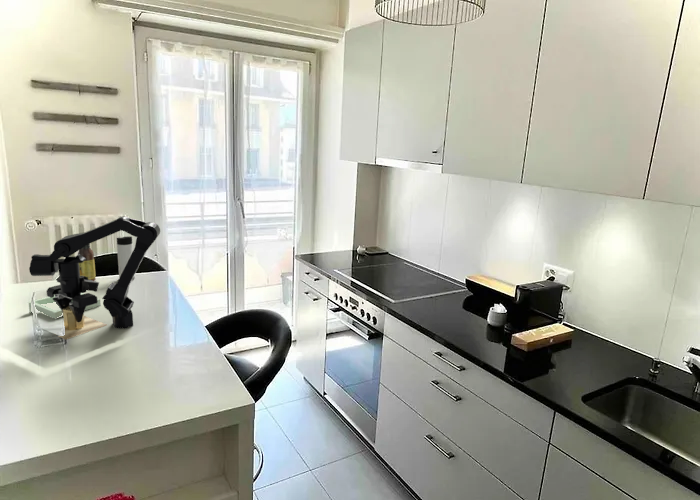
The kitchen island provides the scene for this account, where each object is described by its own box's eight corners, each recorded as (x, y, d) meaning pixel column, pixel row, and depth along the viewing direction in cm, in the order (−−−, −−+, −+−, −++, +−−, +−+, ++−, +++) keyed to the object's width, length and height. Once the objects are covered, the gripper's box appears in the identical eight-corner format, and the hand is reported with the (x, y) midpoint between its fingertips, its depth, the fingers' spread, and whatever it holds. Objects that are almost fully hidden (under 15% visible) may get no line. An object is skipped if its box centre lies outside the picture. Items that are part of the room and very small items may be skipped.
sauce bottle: (80, 279, 200) (76, 236, 195) (96, 278, 203) (93, 235, 198) (78, 284, 194) (74, 239, 190) (95, 283, 197) (91, 238, 192)
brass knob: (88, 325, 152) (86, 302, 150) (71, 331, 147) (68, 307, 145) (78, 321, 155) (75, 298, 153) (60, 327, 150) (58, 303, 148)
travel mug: (124, 282, 200) (121, 238, 195) (116, 278, 204) (113, 235, 199) (137, 279, 205) (135, 236, 200) (130, 276, 209) (127, 234, 204)
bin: (100, 309, 170) (100, 299, 169) (55, 323, 156) (54, 312, 155) (74, 299, 178) (73, 290, 177) (29, 312, 163) (28, 302, 162)
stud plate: (107, 328, 154) (106, 313, 153) (66, 343, 142) (64, 327, 141) (83, 319, 160) (81, 304, 159) (41, 332, 148) (39, 317, 147)
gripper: (111, 274, 149) (114, 318, 153) (77, 264, 158) (81, 306, 161) (77, 283, 140) (82, 329, 143) (43, 271, 148) (48, 316, 152)
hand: (74, 319), depth 150 cm, fingers closed on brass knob, 5 cm apart
